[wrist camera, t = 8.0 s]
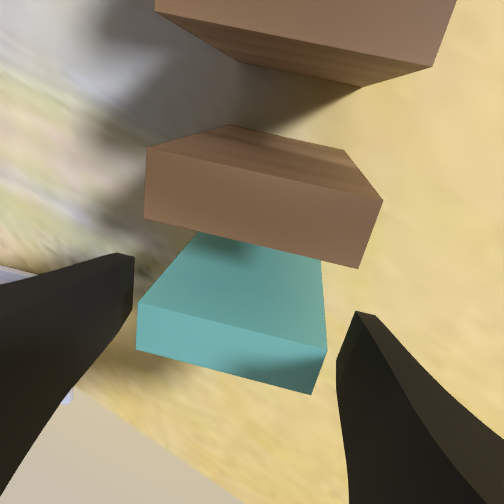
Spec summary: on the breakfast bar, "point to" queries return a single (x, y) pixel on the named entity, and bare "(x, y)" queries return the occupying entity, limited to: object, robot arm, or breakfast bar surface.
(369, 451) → the robot arm
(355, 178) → the walnut domino
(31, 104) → the breakfast bar surface
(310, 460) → the breakfast bar surface
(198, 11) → the walnut domino
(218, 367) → the teal domino
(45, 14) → the breakfast bar surface
